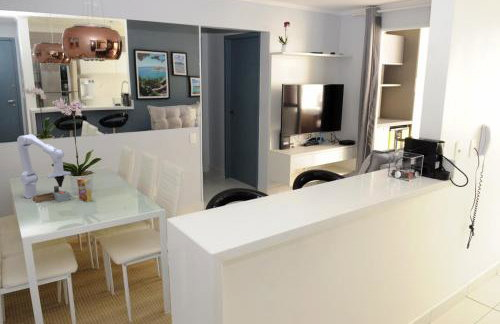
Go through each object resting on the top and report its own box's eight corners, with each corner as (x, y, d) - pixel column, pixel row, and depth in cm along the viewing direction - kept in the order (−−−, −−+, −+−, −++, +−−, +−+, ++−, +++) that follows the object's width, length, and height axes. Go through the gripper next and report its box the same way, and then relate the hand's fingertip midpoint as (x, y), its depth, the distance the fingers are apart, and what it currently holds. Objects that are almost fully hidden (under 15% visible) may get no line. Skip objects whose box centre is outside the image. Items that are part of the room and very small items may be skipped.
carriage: (51, 195, 276) (50, 186, 274) (60, 193, 280) (59, 184, 279) (53, 196, 272) (53, 188, 271) (62, 195, 276) (62, 186, 275)
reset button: (59, 197, 270) (58, 191, 270) (63, 196, 273) (63, 190, 272) (60, 198, 268) (60, 192, 268) (65, 197, 271) (64, 191, 270)
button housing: (54, 200, 270) (54, 193, 269) (66, 197, 276) (66, 190, 275) (58, 202, 266) (57, 195, 265) (70, 199, 272) (69, 192, 271)
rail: (33, 200, 269) (32, 196, 268) (61, 194, 282) (61, 190, 282) (36, 203, 264) (36, 198, 263) (65, 197, 277) (65, 193, 276)
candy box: (78, 200, 271) (76, 178, 268) (83, 198, 275) (81, 177, 271) (87, 202, 267) (85, 180, 263) (92, 200, 270) (90, 179, 267)
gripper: (49, 170, 258) (51, 189, 261) (71, 166, 268) (73, 185, 271) (45, 168, 263) (47, 187, 266) (67, 165, 273) (69, 183, 276)
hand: (60, 186), depth 269 cm, fingers closed
